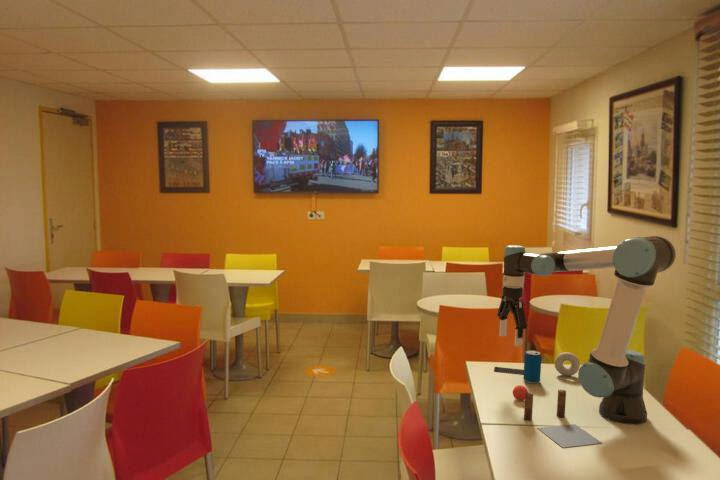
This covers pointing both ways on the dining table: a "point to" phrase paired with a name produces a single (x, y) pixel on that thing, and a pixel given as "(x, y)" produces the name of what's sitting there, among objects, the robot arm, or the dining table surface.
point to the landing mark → (569, 436)
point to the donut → (570, 357)
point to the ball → (519, 392)
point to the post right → (561, 403)
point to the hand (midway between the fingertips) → (510, 340)
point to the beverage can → (532, 366)
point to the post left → (528, 406)
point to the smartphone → (509, 370)
